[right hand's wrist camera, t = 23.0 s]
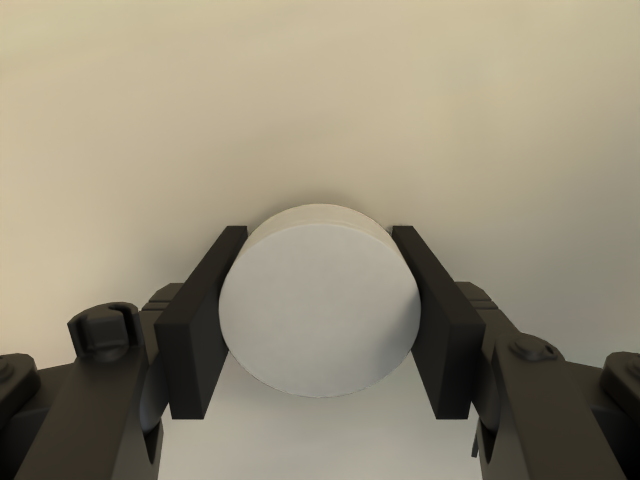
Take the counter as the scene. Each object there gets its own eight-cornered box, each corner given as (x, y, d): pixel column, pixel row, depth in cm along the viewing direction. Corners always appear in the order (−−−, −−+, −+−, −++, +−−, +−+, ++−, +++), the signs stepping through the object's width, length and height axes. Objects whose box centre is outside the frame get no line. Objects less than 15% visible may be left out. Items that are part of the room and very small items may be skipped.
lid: (216, 329, 12) (198, 369, 11) (261, 176, 11) (248, 192, 9) (366, 372, 13) (374, 417, 11) (434, 237, 11) (457, 264, 9)
